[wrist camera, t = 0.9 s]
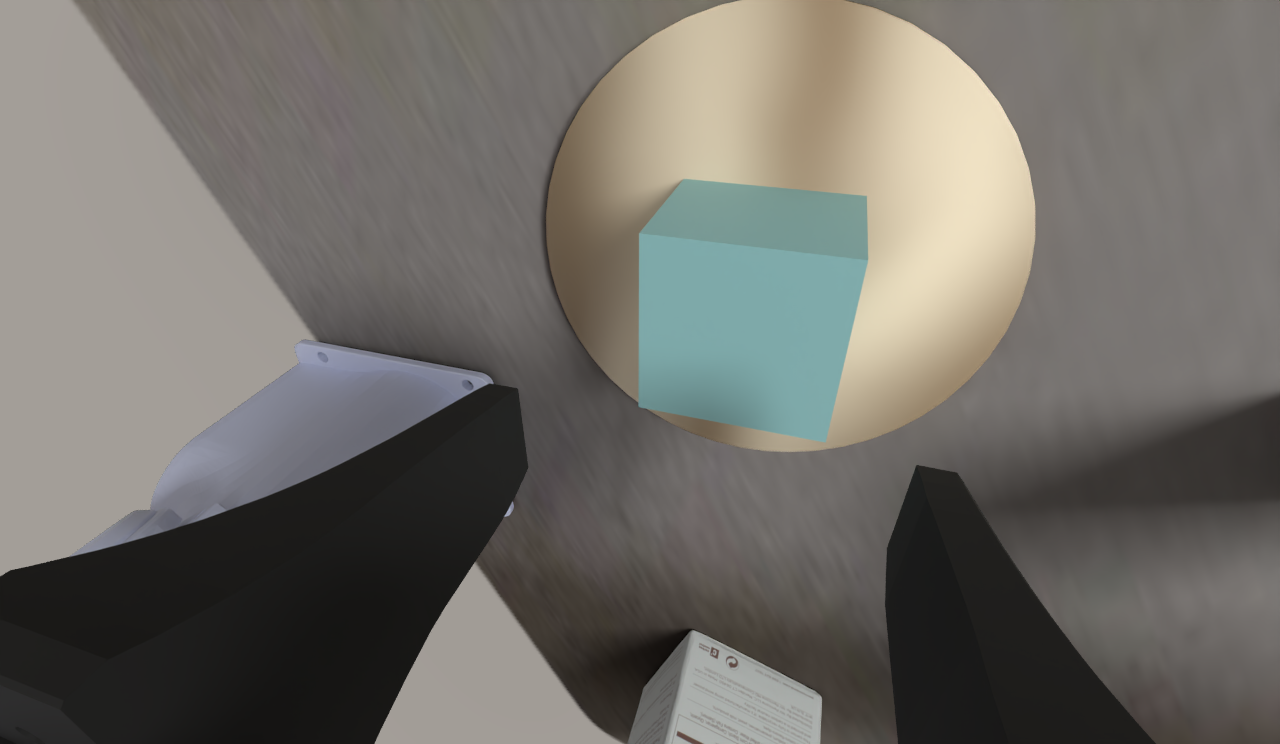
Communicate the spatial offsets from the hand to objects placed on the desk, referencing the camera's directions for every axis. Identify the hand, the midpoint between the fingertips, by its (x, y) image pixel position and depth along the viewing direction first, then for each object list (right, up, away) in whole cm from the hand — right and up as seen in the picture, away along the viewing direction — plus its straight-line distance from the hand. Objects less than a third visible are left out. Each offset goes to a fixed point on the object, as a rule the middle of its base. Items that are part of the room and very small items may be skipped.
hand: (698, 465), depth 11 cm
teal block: (+3, +5, +7) cm, 9 cm away
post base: (+3, +5, +7) cm, 9 cm away
